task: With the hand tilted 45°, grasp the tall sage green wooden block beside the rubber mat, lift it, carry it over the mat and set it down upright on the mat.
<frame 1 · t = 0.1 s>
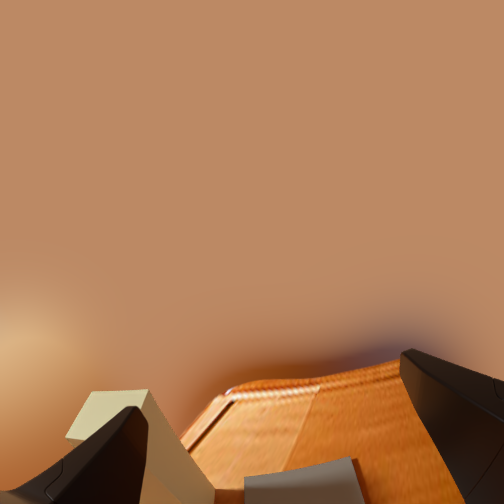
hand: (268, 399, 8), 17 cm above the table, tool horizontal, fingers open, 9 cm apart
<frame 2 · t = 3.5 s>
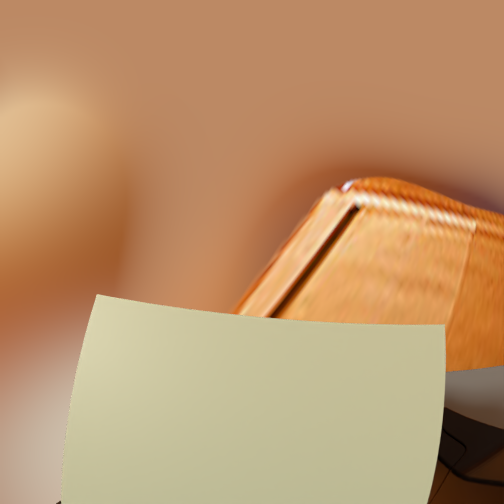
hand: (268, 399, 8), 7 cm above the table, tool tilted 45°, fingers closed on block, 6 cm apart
block: (285, 424, 13), on the table, touching gripper
mat: (437, 484, 10), on the table
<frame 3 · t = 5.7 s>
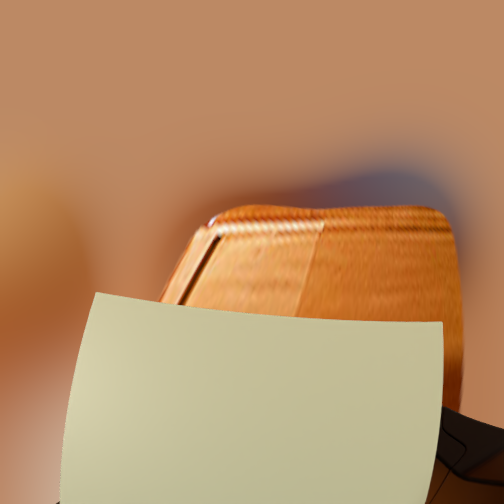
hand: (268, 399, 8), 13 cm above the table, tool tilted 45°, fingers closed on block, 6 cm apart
block: (284, 424, 13), point 7 cm above the table, touching gripper
when the fingers open (8 cm above the table, at t = 7.5 s): block drops 1 cm, resting on mat.
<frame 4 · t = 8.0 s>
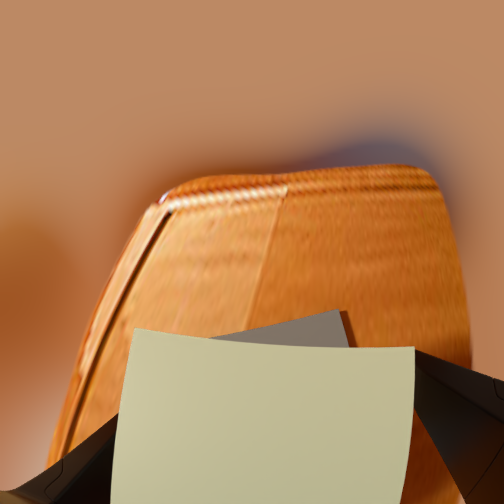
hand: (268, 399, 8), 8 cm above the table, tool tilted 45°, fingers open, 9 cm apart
block: (285, 423, 14), point 1 cm above the table, touching mat
mat: (290, 437, 14), on the table
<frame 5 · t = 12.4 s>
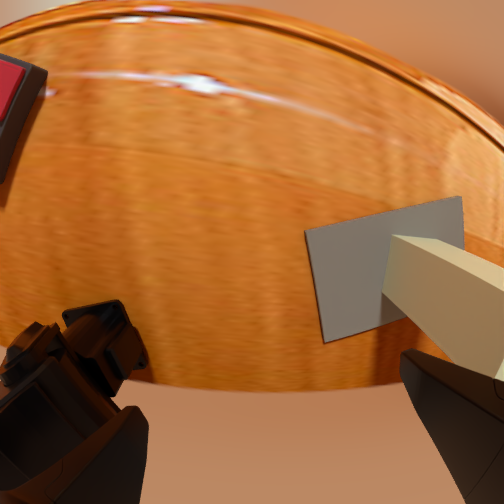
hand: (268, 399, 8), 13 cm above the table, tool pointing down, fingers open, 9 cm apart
block: (410, 265, 20), point 1 cm above the table, touching mat
mat: (397, 266, 21), on the table
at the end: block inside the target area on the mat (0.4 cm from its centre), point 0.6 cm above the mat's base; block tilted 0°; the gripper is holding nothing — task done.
